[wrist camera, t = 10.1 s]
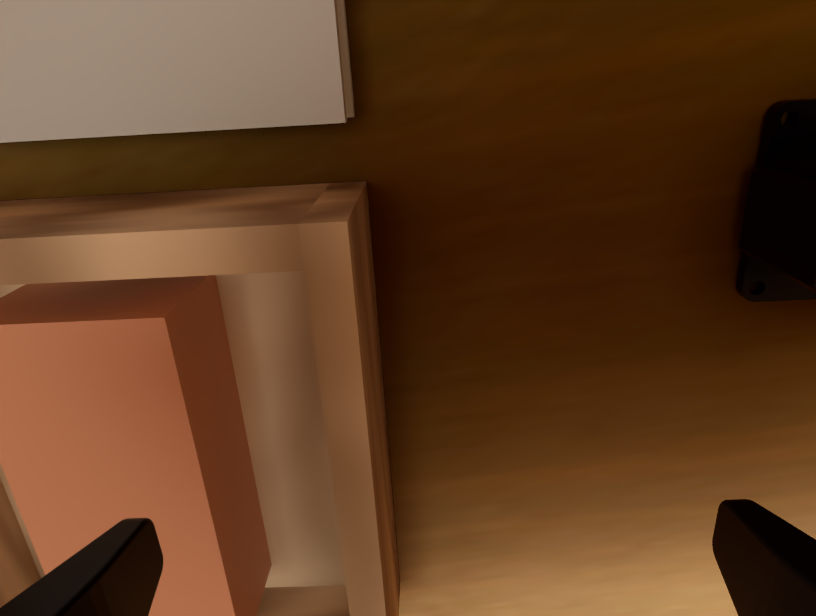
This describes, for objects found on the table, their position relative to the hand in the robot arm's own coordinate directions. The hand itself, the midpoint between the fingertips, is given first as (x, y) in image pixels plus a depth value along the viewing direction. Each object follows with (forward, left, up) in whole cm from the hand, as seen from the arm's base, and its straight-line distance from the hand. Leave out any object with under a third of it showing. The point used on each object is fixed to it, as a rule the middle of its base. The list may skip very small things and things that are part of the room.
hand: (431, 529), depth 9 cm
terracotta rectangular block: (+10, +5, -11) cm, 16 cm away
